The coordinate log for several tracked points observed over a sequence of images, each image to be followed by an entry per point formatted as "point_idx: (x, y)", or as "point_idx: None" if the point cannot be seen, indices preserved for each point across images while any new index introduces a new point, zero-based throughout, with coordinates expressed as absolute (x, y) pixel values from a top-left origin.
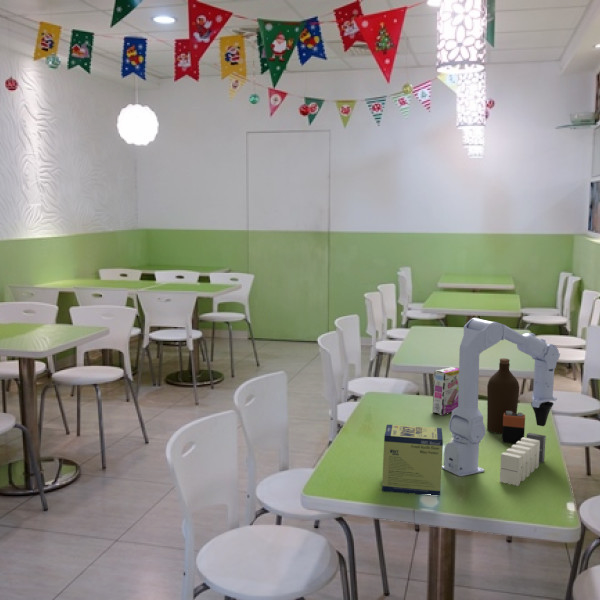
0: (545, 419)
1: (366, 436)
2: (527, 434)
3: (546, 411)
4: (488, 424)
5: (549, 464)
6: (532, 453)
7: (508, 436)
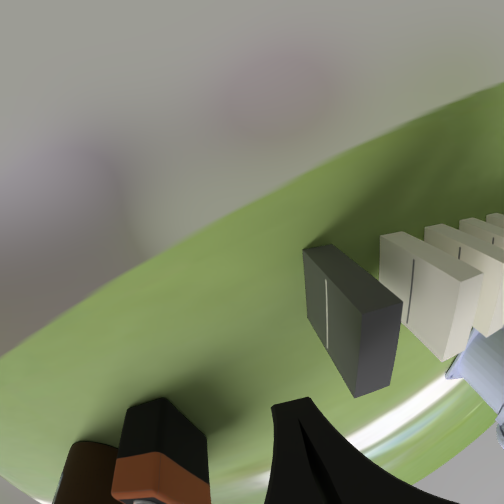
0: (340, 437)
1: None
2: (389, 382)
3: (417, 491)
4: None
5: (324, 214)
6: (495, 247)
7: (198, 445)
